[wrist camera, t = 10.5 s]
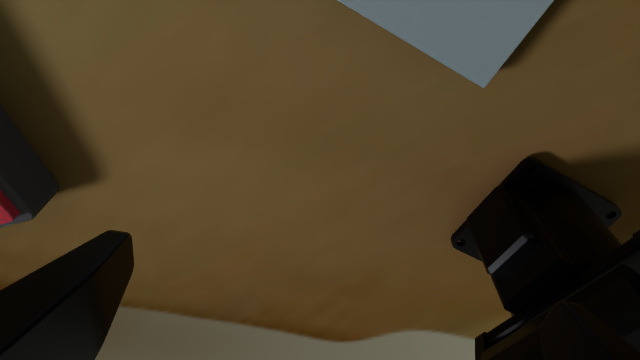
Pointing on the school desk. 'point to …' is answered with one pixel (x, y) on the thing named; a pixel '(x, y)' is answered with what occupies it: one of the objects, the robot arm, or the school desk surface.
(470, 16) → the grey base plate
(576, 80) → the school desk surface
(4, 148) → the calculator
